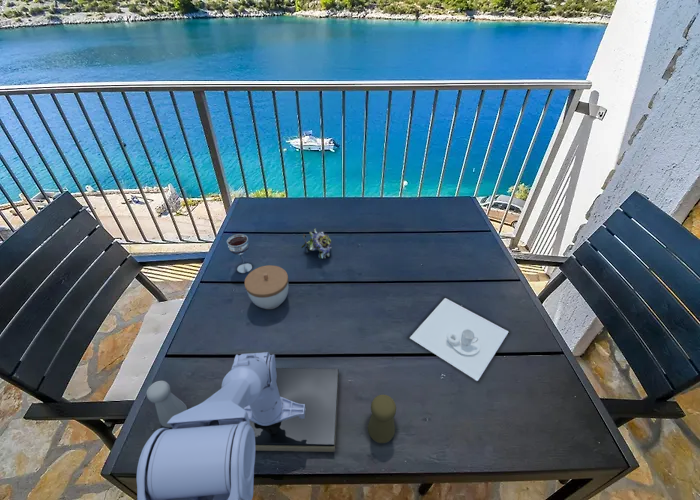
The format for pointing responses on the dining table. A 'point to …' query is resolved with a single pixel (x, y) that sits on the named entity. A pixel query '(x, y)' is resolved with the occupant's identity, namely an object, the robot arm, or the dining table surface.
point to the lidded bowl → (267, 286)
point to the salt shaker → (165, 402)
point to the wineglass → (239, 250)
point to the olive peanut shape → (382, 419)
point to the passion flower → (319, 244)
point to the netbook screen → (320, 408)
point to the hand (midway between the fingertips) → (274, 429)
